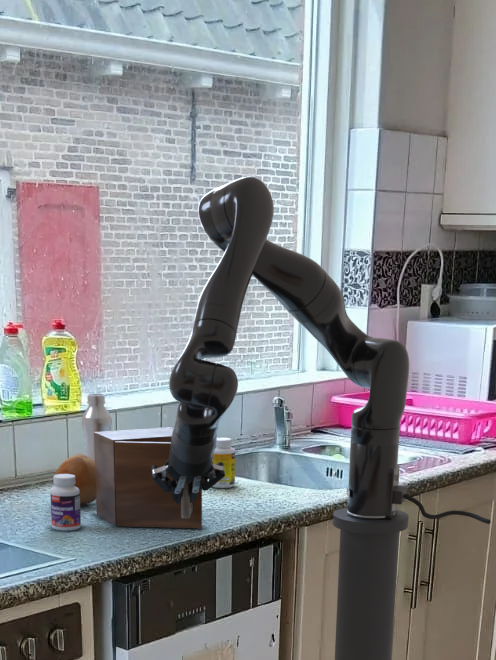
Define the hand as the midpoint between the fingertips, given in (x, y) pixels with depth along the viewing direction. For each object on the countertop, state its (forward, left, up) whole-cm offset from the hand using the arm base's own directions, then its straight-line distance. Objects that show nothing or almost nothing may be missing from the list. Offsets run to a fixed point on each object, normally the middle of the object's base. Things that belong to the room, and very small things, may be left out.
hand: (183, 499), depth 218 cm
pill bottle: (+22, +3, -7) cm, 23 cm away
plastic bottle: (+30, -30, -7) cm, 43 cm away
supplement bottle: (+7, -44, -7) cm, 45 cm away
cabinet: (+12, -11, -6) cm, 17 cm away
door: (+5, 0, -6) cm, 8 cm away
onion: (+28, -16, -7) cm, 33 cm away
